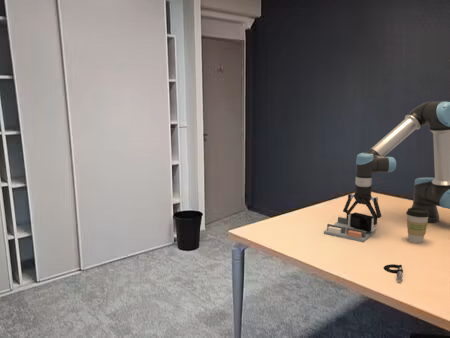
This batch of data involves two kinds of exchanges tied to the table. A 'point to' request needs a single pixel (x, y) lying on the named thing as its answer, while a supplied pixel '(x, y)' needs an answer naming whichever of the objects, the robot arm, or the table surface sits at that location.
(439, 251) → the table surface
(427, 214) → the coffee cup
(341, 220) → the docking board
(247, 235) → the table surface
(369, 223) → the digital camera
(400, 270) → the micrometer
